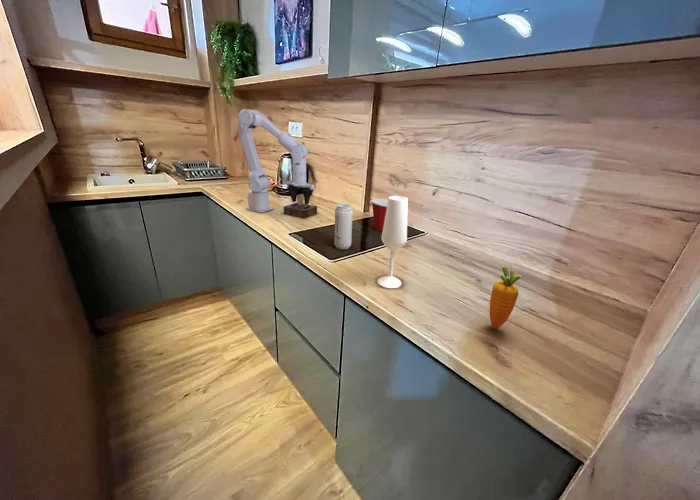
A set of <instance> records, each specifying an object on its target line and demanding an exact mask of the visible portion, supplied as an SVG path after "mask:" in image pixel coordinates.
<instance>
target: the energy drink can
mask: <svg viewBox="0 0 700 500" xmlns="http://www.w3.org/2000/svg"><path fill="white" fill-rule="evenodd" d="M353 215H354V210H353V208H352V204H349V203H338V204H337V205H336V208H335V209H334V241H333V242H334V243H333V245H334V246H335V248H336V249H338V250H349V249H350V247H351V246H352V238H353Z"/></svg>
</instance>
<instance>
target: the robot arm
mask: <svg viewBox="0 0 700 500" xmlns="http://www.w3.org/2000/svg"><path fill="white" fill-rule="evenodd" d="M237 121H238V122H237V124H238V125H237V134H238V138H239V140H240V143H241V148H242V151H243V154H244V157H245V160H246V163H247V167H248V169H249V173H248V176H247V179H248V188H249V189H250V190H249V191H248V194H247V206H248V207H247V208H246V210H249V211H253V212H258V213H265V212H268V211H271V210H273V209H274V208H273V207H270V201H269V200H270V199H269V187H270V185H271V181H270V179H269V177H268V176H267V173H266V172H265V170H263V167H262V165H261V162H260V158H259V155H258V151H257V147H256V145H255V141H254V137H253V133H254V131H255V129H256V128H257V127H262V128H263V129H265V130H266V131H267V132H269V133H270V134H271V135H272V136H273V137H275V138H276V139H277V142H278V144H279V145H280V146H281V147H283V148H284V149H285V150H286V151H287V152H288V153H290V156H291V158H292V167H293V169H292V173H293V174H292V175H293V177H292V178H293V180H287V181H286V182H285V185H286V190H287V191H288V193H289V195H290V198H291V201H292V203H297V193H298V188H302V194H303V197H304V201H303V203H304V204H308V205H310V204H309V203H310V199H311V196H312V194H313V192H314V189H315V184H313V183H310V182H307V156H308V148H307V147H306V145H305V144H303V143H301V142H300V141H299V140H296V139H295V138H294V137H292V134H291V133H290V132H287V131H284V132H283V131H281V130H280V129H279V128H278V127H277V126H276V125H275V124H274V123H273V121H271V120H270V119H269V118H268V117H267V116H266V115H265V114H263V113H262V112H261V111H260V110H258V109H249V108H243V109H241V110H240V112H239V113H238V115H237Z"/></svg>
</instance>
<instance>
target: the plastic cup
mask: <svg viewBox="0 0 700 500" xmlns="http://www.w3.org/2000/svg"><path fill="white" fill-rule="evenodd" d="M370 202H371V206H372V218H373V225H374V226H373V227H374V230H375V231H377V232H383V226H384V221H385V216H386V210H387V205H388V199H385V198H373V199H371V201H370Z"/></svg>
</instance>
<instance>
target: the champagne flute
mask: <svg viewBox="0 0 700 500" xmlns="http://www.w3.org/2000/svg"><path fill="white" fill-rule="evenodd" d="M387 200H388V205H387V210H386V216H385V221H384V226H383V231H381V232H382V233H381V238H380V239H381V242H382V244H383V245H384V246H385V248H387V250H389V251H390V254H389V262H388V263H389V264H388V272H387V275H386V276H381V277H379V278H378V280H377V283H378V285H379V286H381V287H383V288H387V289H397V288H400V287H401V286H402V281H401V280H400V279H399V278H397V277H395V276H394V275H393V274H394V264H395V254H396V251H399V250H400V249H401V248H403V247H405V245H406V243H407V241H408V205H409V199H408V197H406V196H402V195H391V196H388V199H387Z"/></svg>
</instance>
